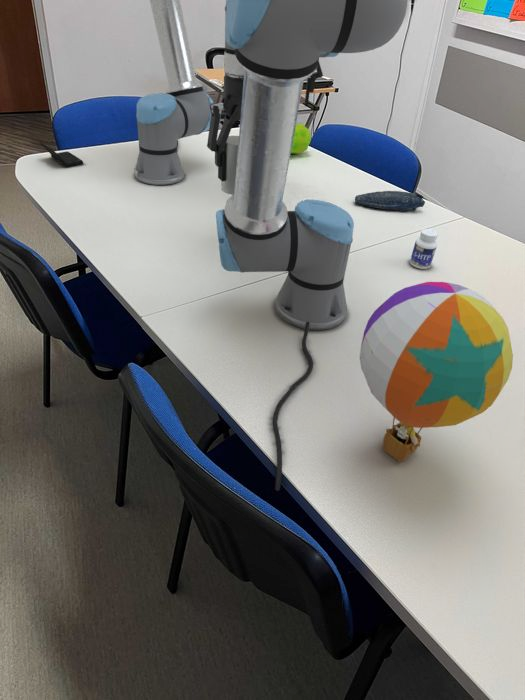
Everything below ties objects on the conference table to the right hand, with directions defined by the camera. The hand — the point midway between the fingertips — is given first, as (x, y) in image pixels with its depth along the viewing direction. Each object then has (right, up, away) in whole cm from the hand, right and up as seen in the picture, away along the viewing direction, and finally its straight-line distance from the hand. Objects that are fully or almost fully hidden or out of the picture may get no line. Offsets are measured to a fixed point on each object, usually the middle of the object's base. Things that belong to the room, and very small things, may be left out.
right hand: (236, 177), depth 128 cm
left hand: (+12, +25, +13) cm, 30 cm away
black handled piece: (-59, +19, +42) cm, 75 cm away
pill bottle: (+47, -21, +5) cm, 51 cm away
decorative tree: (+9, +30, +64) cm, 71 cm away
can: (0, -2, +2) cm, 3 cm away
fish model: (+45, +2, +33) cm, 56 cm away
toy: (+28, -59, -45) cm, 79 cm away
